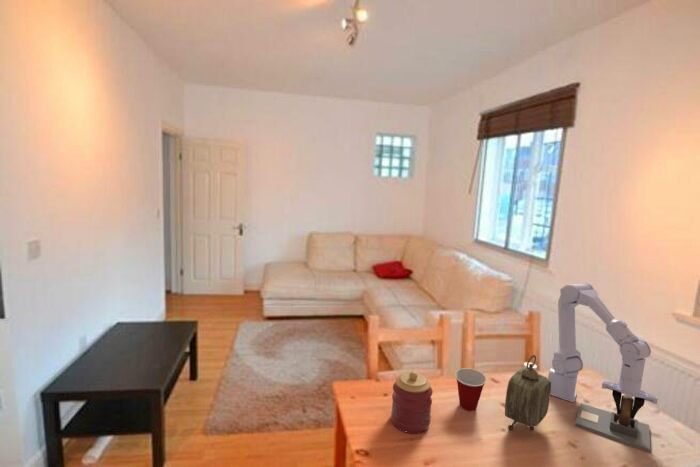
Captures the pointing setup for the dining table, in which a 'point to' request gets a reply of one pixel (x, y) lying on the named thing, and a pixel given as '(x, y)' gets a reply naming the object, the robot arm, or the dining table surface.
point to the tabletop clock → (527, 397)
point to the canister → (411, 402)
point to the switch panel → (613, 427)
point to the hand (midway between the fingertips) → (625, 415)
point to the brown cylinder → (625, 410)
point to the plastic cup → (469, 387)
